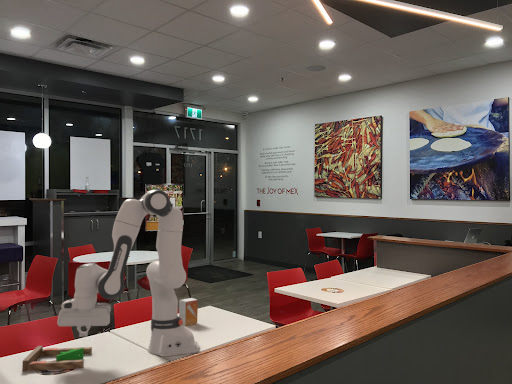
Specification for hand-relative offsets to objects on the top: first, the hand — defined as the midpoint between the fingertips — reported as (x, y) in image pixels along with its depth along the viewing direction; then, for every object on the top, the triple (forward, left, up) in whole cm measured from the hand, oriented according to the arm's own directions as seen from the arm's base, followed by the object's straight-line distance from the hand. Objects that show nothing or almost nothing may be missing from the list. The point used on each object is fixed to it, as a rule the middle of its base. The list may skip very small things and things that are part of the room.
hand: (83, 336), depth 173 cm
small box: (-44, -47, -10) cm, 65 cm away
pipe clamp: (+5, +1, -10) cm, 12 cm away
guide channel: (+9, 0, -10) cm, 13 cm away
